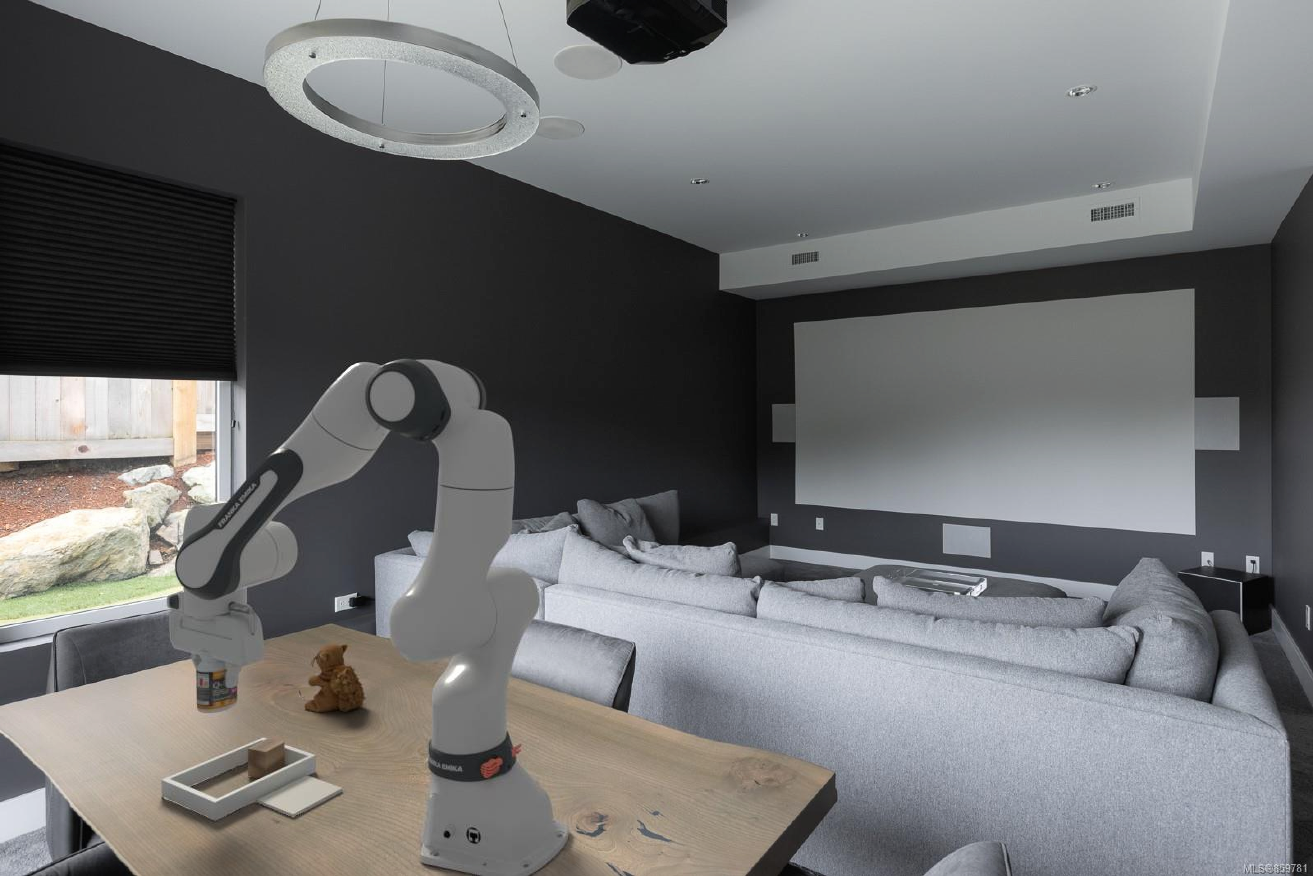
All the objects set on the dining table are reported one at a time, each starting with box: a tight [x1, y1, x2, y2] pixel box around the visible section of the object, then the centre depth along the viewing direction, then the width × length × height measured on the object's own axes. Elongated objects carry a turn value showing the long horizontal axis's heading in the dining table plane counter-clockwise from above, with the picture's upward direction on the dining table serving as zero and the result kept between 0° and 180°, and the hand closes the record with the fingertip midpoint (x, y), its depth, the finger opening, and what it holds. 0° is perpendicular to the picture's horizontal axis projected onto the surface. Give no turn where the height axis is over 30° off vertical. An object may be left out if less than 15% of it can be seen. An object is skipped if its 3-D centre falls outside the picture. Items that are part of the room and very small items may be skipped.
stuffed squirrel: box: [304, 643, 366, 713], centre depth 154 cm, size 10×14×13 cm
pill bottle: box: [195, 650, 238, 714], centre depth 118 cm, size 6×6×10 cm
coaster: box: [256, 775, 343, 818], centre depth 118 cm, size 9×9×1 cm
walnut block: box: [247, 738, 286, 779], centre depth 126 cm, size 4×4×5 cm
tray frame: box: [161, 737, 317, 821], centre depth 122 cm, size 15×18×3 cm
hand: (217, 682), depth 118 cm, fingers closed on pill bottle, 6 cm apart
